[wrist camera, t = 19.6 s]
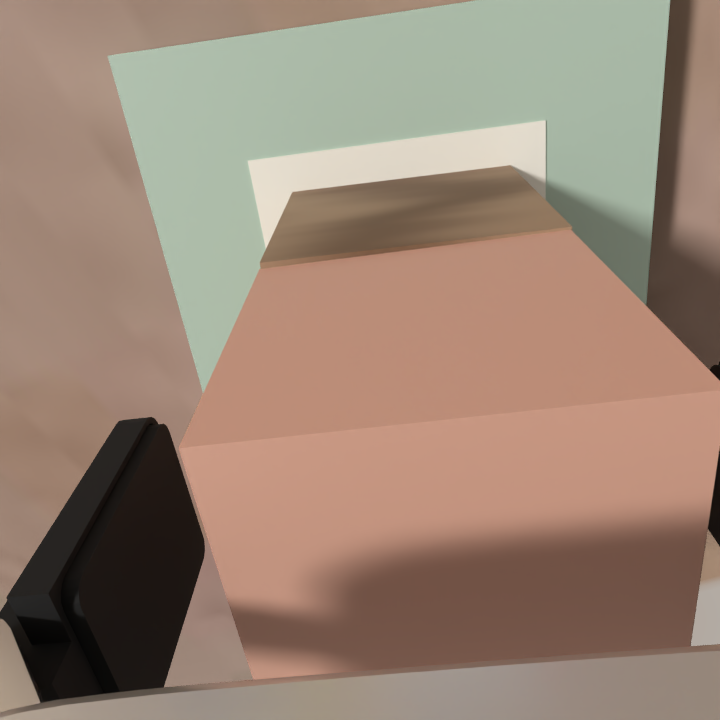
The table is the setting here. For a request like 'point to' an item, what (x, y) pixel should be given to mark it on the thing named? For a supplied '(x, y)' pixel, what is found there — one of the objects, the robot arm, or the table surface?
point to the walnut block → (408, 216)
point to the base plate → (395, 128)
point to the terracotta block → (454, 461)
